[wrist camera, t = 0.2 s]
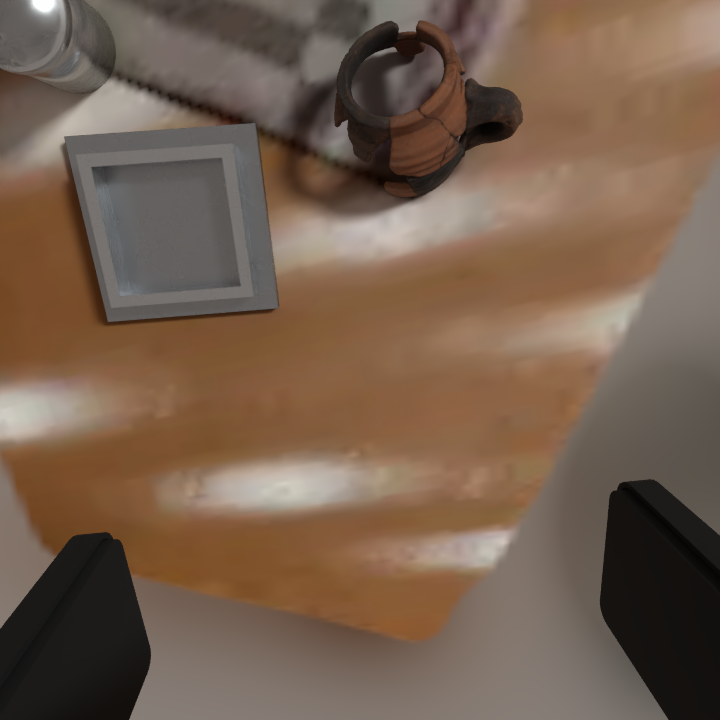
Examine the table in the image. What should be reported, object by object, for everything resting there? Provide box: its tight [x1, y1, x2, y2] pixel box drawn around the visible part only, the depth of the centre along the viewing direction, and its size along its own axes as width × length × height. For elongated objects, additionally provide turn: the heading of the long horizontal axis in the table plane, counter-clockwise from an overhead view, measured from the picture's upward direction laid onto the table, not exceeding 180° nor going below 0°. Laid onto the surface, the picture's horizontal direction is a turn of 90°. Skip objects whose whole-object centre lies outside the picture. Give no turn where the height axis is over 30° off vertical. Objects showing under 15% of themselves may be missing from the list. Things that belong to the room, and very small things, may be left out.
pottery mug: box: [334, 21, 523, 197], centre depth 33 cm, size 12×10×8 cm
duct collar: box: [64, 123, 279, 322], centre depth 35 cm, size 13×13×3 cm
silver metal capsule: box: [0, 0, 116, 93], centre depth 29 cm, size 6×6×7 cm
